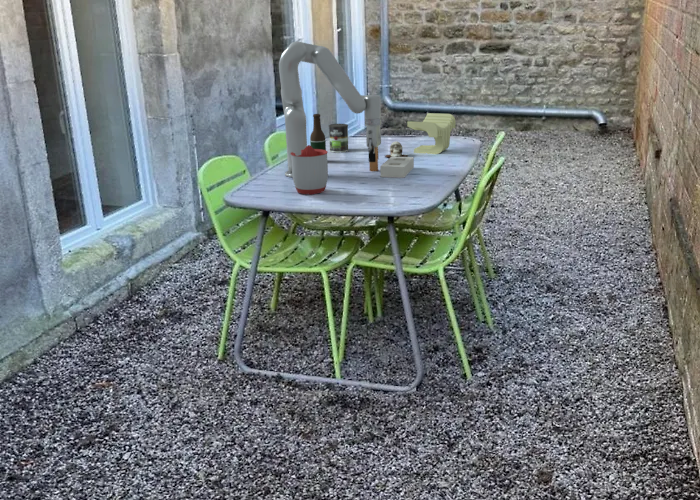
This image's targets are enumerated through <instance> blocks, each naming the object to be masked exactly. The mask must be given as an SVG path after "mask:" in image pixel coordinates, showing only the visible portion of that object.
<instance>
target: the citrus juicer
mask: <svg viewBox="0 0 700 500" xmlns="http://www.w3.org/2000/svg"><path fill="white" fill-rule="evenodd" d="M328 153H329V152H328V150H327V149H326V150H322V149H313V148H312V147H311V146H310V144H309V145H308V144H307V147H306V148H305V149H304V150H301V155H299V156H296V155H295V153H293V152H291V163H292V175H293V177H292V179H293V183H294V186H295V187H294V188H295V189H296V191H297V193H298V194H301V195H311V196H312V195H315V194H321V193H323V192H325V191H326V188H327V183H328V178H329V177H328V175H329V166H328Z"/></svg>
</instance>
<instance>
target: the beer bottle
mask: <svg viewBox="0 0 700 500" xmlns="http://www.w3.org/2000/svg"><path fill="white" fill-rule="evenodd" d="M312 117H313V129H312V132H311V134H310V136H309V137H310V138H309V143H310V144H309V145H310V146H311V147H312V148H313V149H322V150H326V151H327V148H326V147H327V145H326V143H327V142H326V135H325V133H324V132H323V130H322V126H321V125H322V124H321V114H320V113H314V114H313V115H312Z"/></svg>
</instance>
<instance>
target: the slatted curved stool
mask: <svg viewBox="0 0 700 500" xmlns="http://www.w3.org/2000/svg"><path fill="white" fill-rule="evenodd" d="M407 128H409V129H412V130H413V131H423V132H426V133H427V135H428V138H433V140H434V141H435V143H434V144H430V145H426V144H423V145H419V146H417V147H415V148H413V154H424V155H425V154H426V153H427V154H428V155H430V154H431V155H438V154H440V153H442V152H444V151H445V150H448V148H449V147H450V141H451V140H450V139H451V132H452V130H453V129H456V117H455V115H453V114H451V113H435V112H434V113H432V112H431V113H430V112H427V113H426V116H425V117H424V119H423V120H422V121H410V120H409V121H407Z"/></svg>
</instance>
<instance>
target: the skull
mask: <svg viewBox="0 0 700 500" xmlns="http://www.w3.org/2000/svg"><path fill="white" fill-rule="evenodd" d="M389 152H390V154H385V155H384V157H386V158H390V157H409V156H408V154H402V153H403V145H402V143H400V142H399V141H393V142H391V144H390V146H389Z"/></svg>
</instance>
